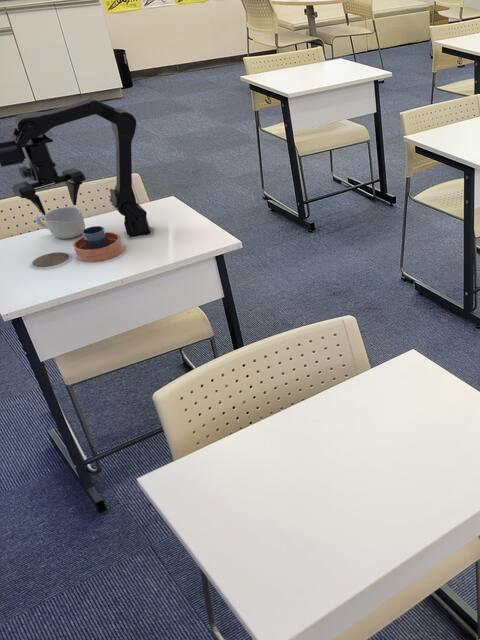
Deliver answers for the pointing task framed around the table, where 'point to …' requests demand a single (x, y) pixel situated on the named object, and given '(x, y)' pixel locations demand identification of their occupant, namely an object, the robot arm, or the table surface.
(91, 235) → the cup
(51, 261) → the coaster
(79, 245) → the bowl
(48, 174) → the robot arm
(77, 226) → the teacup
